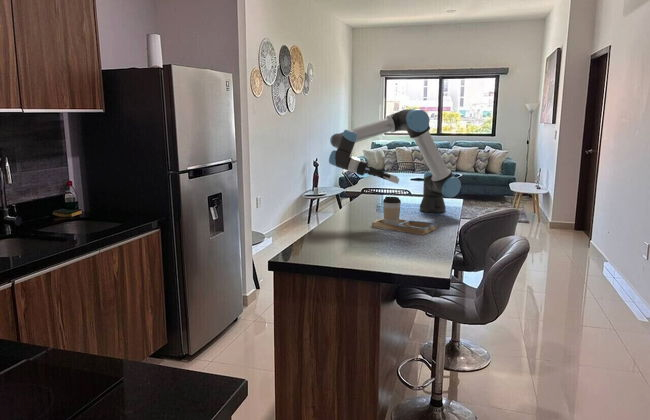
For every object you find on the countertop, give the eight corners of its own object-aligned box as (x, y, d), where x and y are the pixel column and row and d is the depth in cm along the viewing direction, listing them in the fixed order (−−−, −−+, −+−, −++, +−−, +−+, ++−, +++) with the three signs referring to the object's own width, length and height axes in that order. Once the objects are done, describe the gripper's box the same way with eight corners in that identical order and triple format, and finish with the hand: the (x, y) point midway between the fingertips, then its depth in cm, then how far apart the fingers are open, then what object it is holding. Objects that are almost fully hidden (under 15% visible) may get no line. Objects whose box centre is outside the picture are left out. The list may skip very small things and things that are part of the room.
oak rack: (386, 221, 255) (386, 216, 254) (436, 229, 239) (436, 223, 238) (371, 226, 243) (371, 221, 243) (423, 234, 227) (423, 228, 226)
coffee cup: (401, 225, 248) (402, 196, 245) (398, 228, 239) (399, 198, 237) (384, 223, 251) (385, 195, 248) (380, 227, 242) (381, 197, 239)
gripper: (359, 175, 260) (396, 188, 256) (351, 171, 236) (393, 185, 231) (364, 162, 260) (401, 175, 255) (357, 156, 235) (398, 171, 231)
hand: (397, 180), depth 243 cm, fingers open, 13 cm apart
